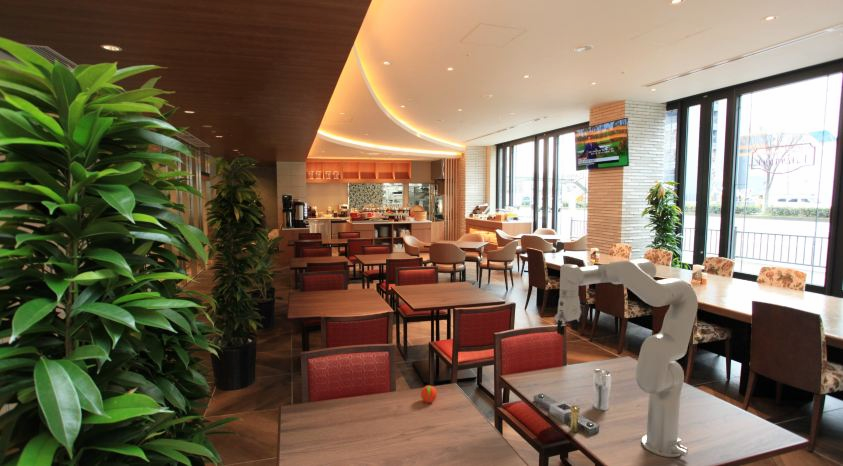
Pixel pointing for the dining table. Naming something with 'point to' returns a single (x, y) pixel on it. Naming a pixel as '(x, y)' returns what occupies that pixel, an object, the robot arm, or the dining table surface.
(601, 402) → the metal tumbler
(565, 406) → the studded connector plate
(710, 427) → the dining table surface
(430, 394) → the red tomato
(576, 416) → the link pin
